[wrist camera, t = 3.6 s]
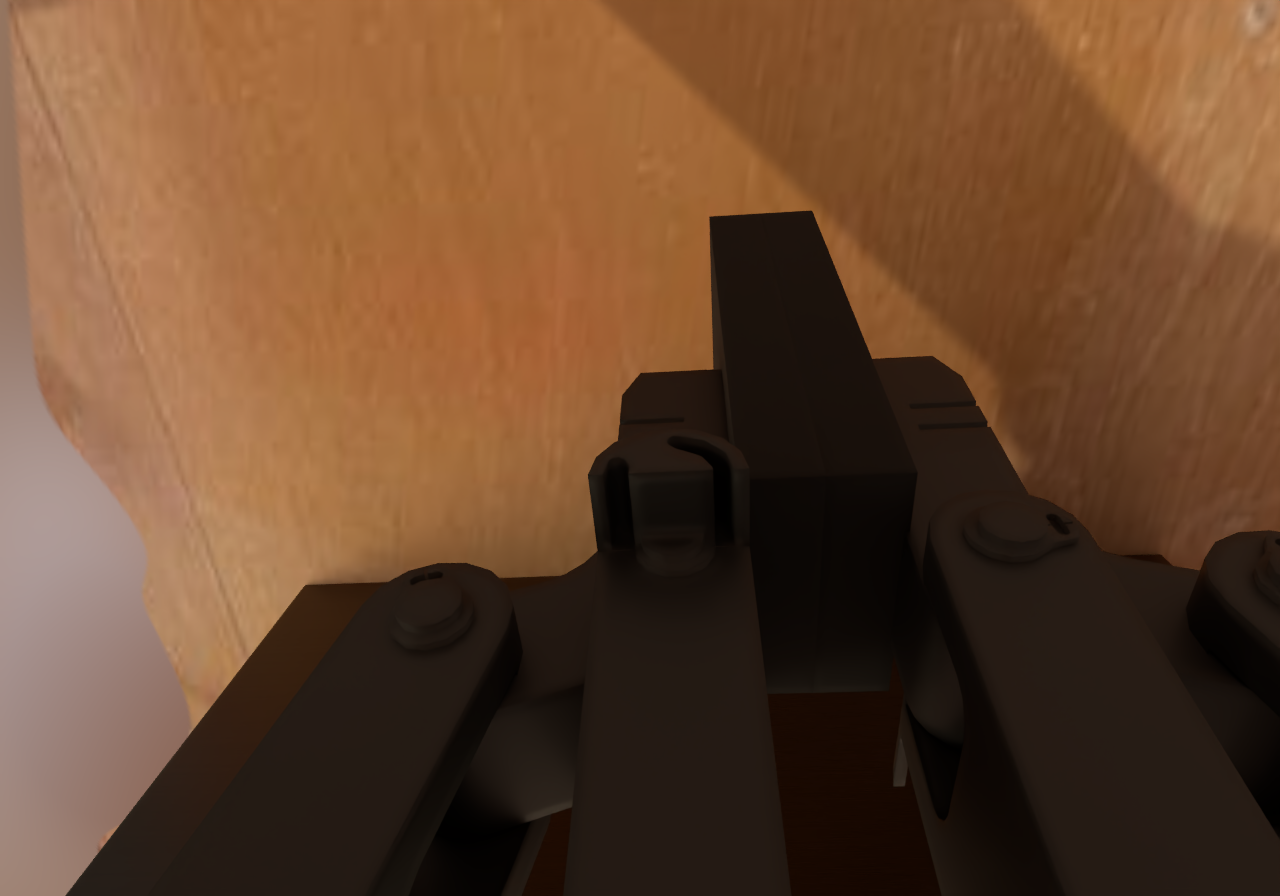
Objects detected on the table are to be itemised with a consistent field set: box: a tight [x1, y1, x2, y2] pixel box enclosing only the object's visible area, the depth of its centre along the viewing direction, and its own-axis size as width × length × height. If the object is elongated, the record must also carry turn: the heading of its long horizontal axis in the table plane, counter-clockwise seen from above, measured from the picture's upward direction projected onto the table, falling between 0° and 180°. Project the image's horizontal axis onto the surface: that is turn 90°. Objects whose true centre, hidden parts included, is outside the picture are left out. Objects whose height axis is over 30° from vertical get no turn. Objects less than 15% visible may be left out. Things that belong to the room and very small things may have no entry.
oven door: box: [66, 555, 1173, 896], centre depth 28 cm, size 5×40×26 cm, turn 94°
